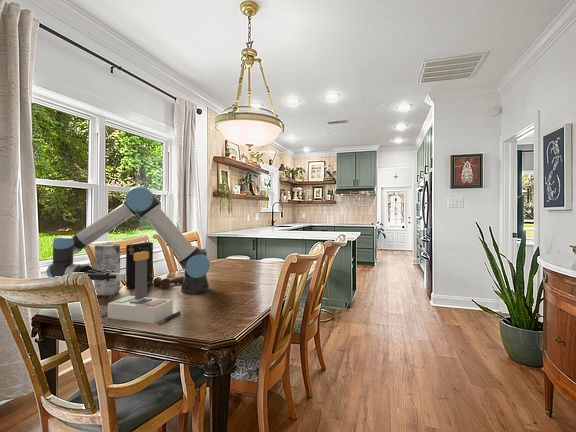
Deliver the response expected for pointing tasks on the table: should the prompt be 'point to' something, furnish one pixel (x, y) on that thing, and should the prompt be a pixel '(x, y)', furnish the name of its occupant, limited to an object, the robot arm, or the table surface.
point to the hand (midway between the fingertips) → (124, 277)
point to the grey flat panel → (158, 321)
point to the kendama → (167, 282)
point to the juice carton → (107, 267)
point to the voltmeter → (131, 263)
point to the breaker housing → (140, 309)
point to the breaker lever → (141, 274)
